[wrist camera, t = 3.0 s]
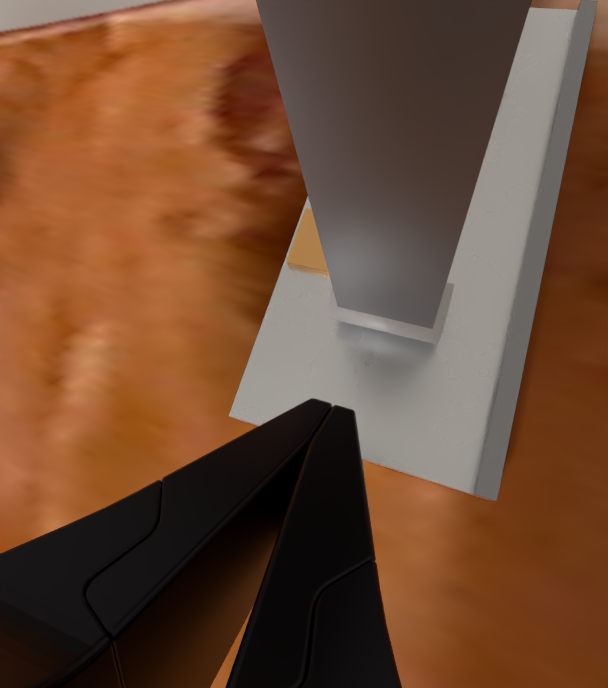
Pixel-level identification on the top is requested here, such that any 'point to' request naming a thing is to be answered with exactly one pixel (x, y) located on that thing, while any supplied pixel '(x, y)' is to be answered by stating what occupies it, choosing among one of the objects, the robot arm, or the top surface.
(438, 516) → the top surface
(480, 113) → the paddle
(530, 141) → the switch console
